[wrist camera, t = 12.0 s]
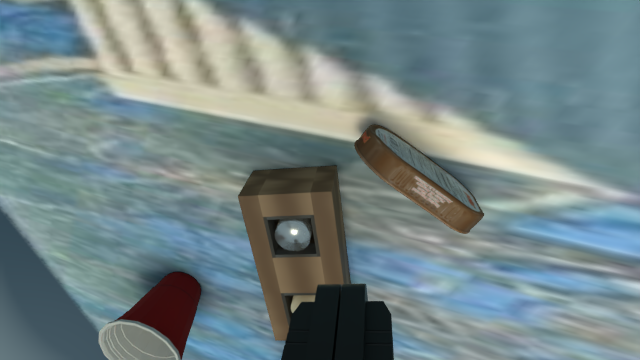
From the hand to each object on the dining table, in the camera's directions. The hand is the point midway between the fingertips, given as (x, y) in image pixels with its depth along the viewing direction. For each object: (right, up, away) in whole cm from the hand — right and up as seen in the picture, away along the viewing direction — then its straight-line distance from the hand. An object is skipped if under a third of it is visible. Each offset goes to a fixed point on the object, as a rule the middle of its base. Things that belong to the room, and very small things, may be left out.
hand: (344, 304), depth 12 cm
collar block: (-2, -4, +38) cm, 39 cm away
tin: (+10, +6, +31) cm, 33 cm away
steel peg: (-3, 0, +36) cm, 36 cm away
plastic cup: (-21, -12, +45) cm, 51 cm away
